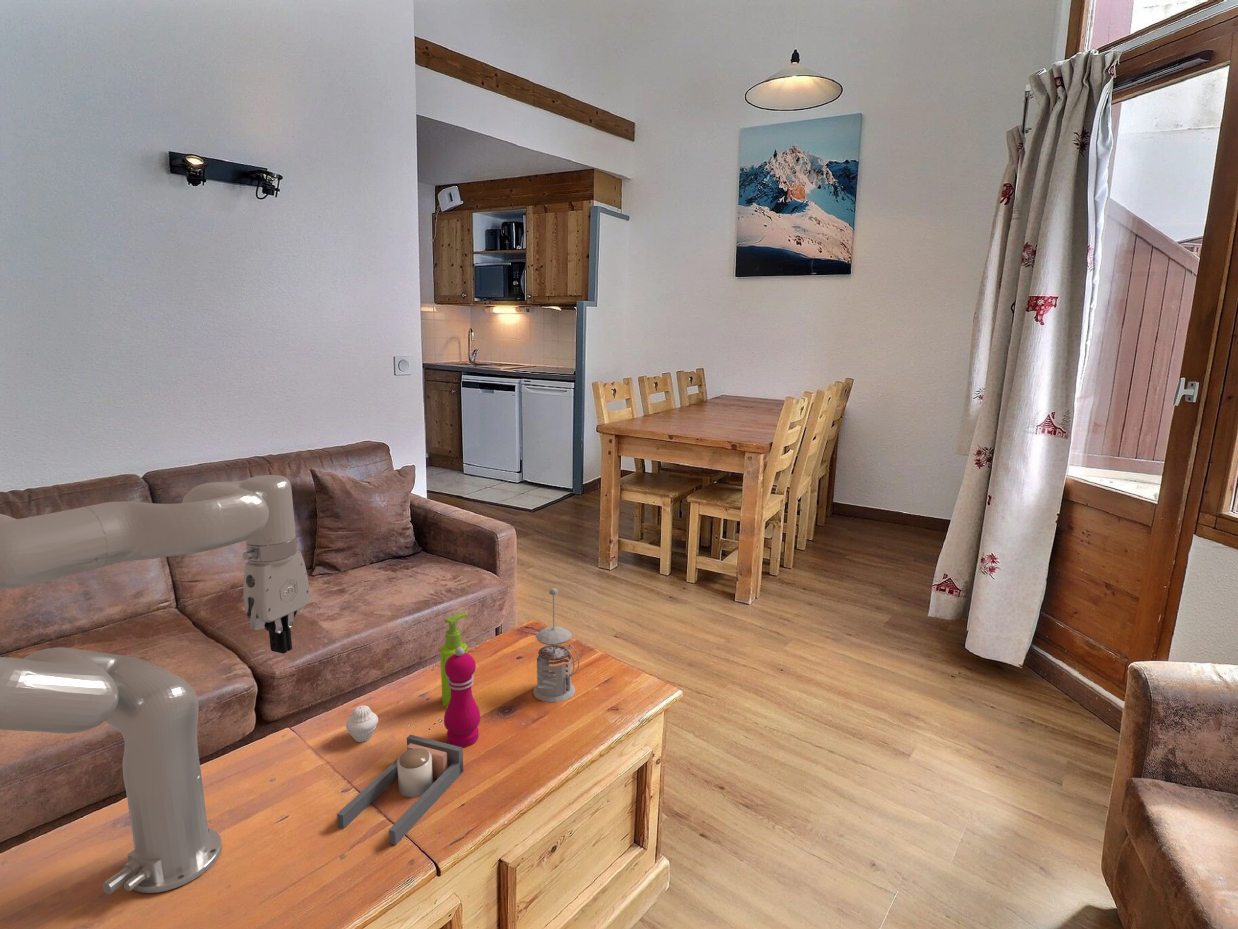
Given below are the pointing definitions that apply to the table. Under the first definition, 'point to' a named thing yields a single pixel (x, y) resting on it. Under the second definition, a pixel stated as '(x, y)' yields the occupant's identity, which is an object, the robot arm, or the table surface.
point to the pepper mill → (461, 700)
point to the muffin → (362, 723)
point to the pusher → (434, 759)
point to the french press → (549, 684)
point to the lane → (421, 804)
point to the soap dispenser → (450, 652)
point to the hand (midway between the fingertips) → (281, 650)
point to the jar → (414, 772)
